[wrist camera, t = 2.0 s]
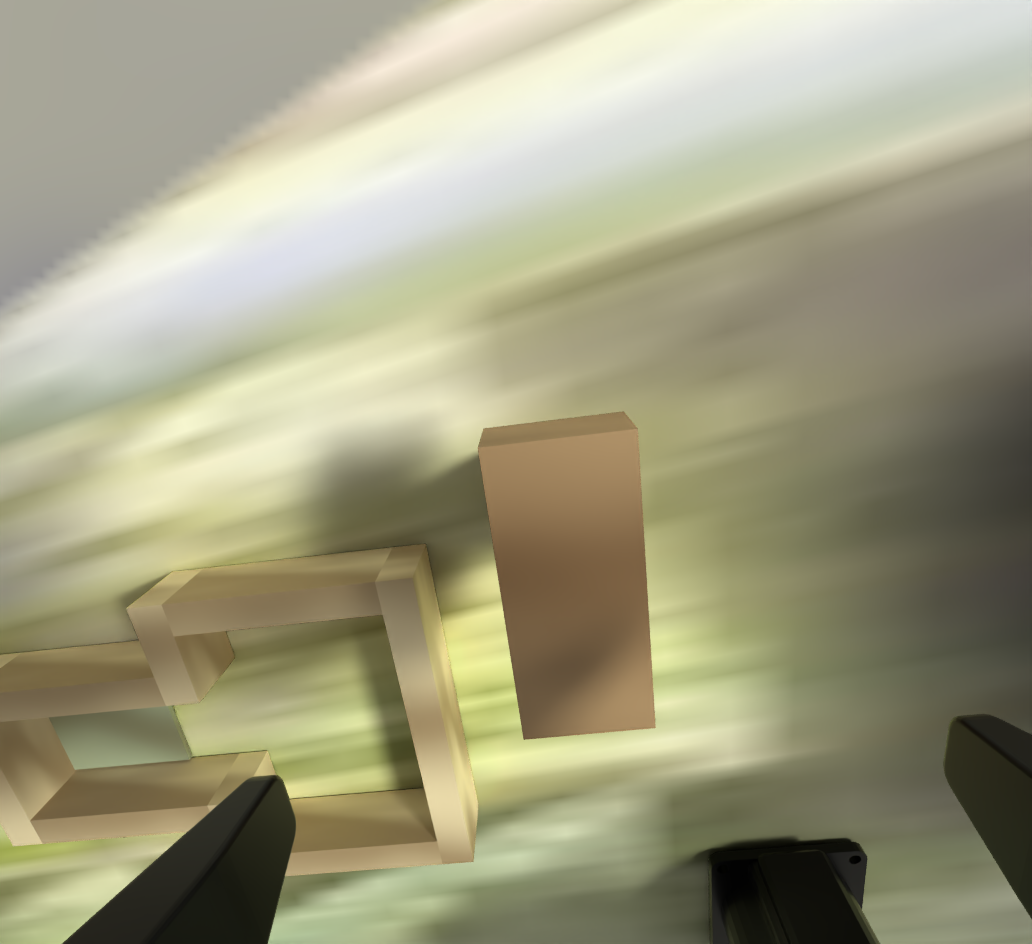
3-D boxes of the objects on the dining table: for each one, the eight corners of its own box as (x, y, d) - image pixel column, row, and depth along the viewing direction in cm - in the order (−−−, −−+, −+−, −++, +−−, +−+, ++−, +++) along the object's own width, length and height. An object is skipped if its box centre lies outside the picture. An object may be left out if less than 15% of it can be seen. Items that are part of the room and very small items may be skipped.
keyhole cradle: (478, 805, 23) (473, 861, 21) (87, 837, 24) (41, 894, 22) (425, 543, 19) (412, 577, 17) (-39, 594, 20) (-111, 633, 18)
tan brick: (607, 567, 19) (655, 727, 12) (524, 575, 19) (523, 739, 12) (591, 371, 17) (637, 428, 10) (497, 383, 17) (477, 447, 10)
